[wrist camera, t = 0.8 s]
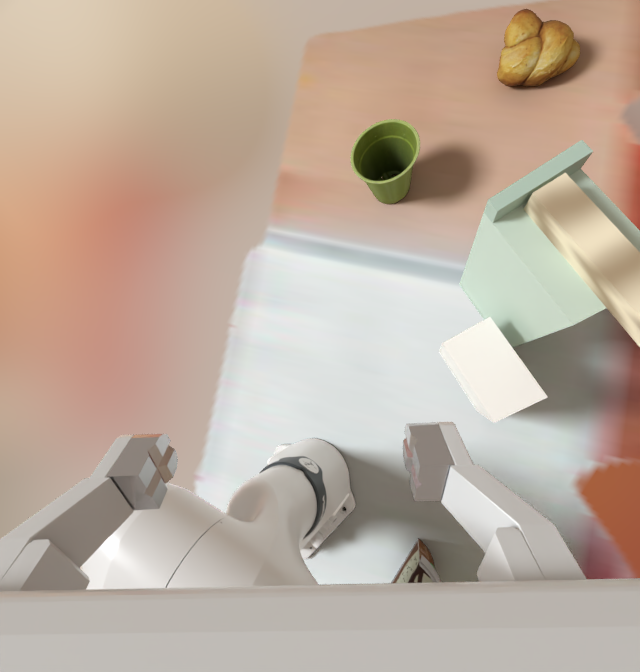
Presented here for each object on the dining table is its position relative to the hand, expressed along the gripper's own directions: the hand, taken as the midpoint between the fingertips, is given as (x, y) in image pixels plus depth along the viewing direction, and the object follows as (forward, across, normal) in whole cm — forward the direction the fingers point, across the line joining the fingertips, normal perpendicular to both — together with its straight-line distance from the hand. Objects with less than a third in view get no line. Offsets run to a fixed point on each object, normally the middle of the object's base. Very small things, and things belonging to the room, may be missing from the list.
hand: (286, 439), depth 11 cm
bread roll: (+70, +42, +16) cm, 83 cm away
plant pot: (+64, +15, -2) cm, 66 cm away
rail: (+20, +27, -4) cm, 34 cm away
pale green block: (+43, +32, -18) cm, 57 cm away
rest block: (+36, +26, -28) cm, 53 cm away
